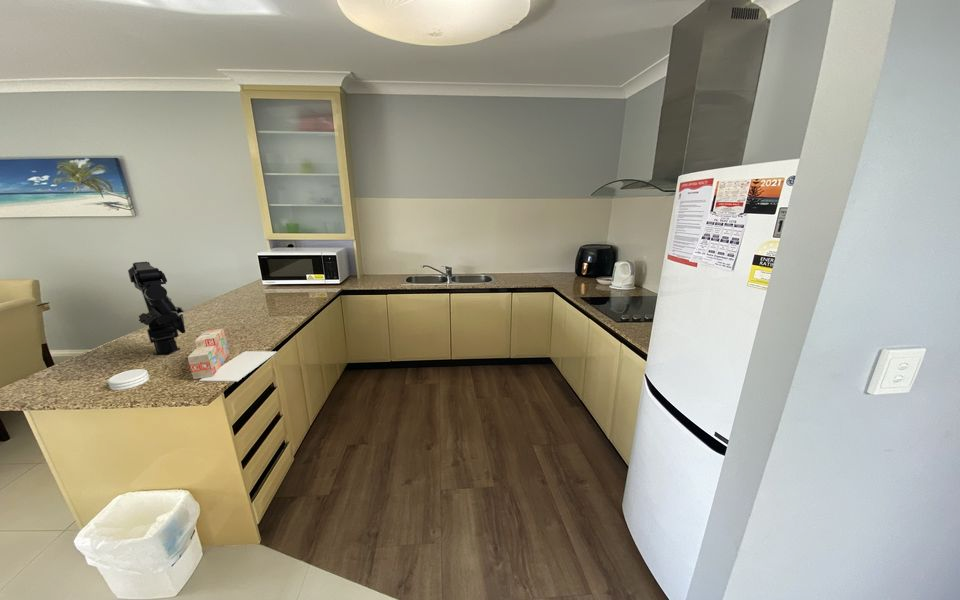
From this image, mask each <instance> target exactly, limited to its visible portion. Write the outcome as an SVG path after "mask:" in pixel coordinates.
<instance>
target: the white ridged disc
mask: <svg viewBox="0 0 960 600" xmlns="http://www.w3.org/2000/svg"><path fill="white" fill-rule="evenodd" d="M149 380H150V375H149V372H148V370H146V369H144V368H143V369H142V368H136V369H129V370H126V371H123V372H119V373H117V374H114V375H112V376H111V377H110V378H108V380H107V384H108V386H109V389H110V390H112V391H123V390H130V389H133V388H136V387H139V386H141V385H144V384H145V383H148V381H149Z"/></svg>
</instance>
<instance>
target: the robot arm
mask: <svg viewBox="0 0 960 600" xmlns="http://www.w3.org/2000/svg"><path fill="white" fill-rule="evenodd" d="M127 271H128V273H127V274H128V276H129V280H130V283H131V284H132V283H133V286H134V288H135V289H137V290H139V291H140V292H141V295H142V296H143V300H144V302H145V305H146V308H147V313H144V312H143V313H140V315H138V321H139V322H140V324H144V325H145V326H148V329H147V330H146V332H147V335H148V338H149V339H148V340H149V342H150V343H151V344H154V349H155V352H154V353H152V354H153V355H154V356H155V355H156V356H158V355H161V356H162V355H165V356H166V355H167V356H168V355H170V354H173V353H175V352H176V351H180V349H181V347H178V345H177V342H176V340H175V339H177V338H178V337H179V333H178V332H180V334H185V333H186V327H185V320H184V319H185V318H184V314H183V313H184V312H185V310H184V309H183V308H182V307H180V306H175V304H174V303H173V302H172V298H170V297H169V296H168V290H167V288H166V287H164V286H162V285H167V282H168V279H167V277H166V275H165V272H163V271H162V270H160V269H159V268H158V267H154V266H152V265H151V264H150V262H149V261H139V262H138V261H137V262H133V263H132V266H131V267H130V268H129V269H128V270H127ZM180 313H181V314H180Z"/></svg>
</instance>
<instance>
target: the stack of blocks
mask: <svg viewBox="0 0 960 600" xmlns="http://www.w3.org/2000/svg"><path fill="white" fill-rule="evenodd" d="M194 342H195V343H194V344H195V346H196V348H195V349H194V350H193V351H192V352H191V353H190V354H189V355H188V356H187V360H188V364H189V368H190V372H191V374H192V375H191V376H192V379H193V380H198V379H202V378H204V377H210V376H213V375H214V374H215V373H216V372H217V370H218V369H219V368H220V367H221V366H222V365H224V362H225V361H226V360H227V359H228V357H230V355H231V352H230V349H229V346H228V341H227V336H226V333H225V329H224V328H218V329H210V330H209V329H207V330H205V331H204V332H202V333H201V334H200V335H199V336H198V337H197V338H196V339H195V340H194Z"/></svg>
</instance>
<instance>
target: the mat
mask: <svg viewBox="0 0 960 600" xmlns="http://www.w3.org/2000/svg"><path fill="white" fill-rule="evenodd" d="M275 354H277V351H264V350H263V351H255V350H253V351H251V350H249V351H247V350H246V351H243V352H241V353H240V354H238V355H237V356H235V357H233V358H232V359H231V360H229V361H227V362H226V363H223V364H222V365H221V367H220V368H219V369H218V370H217V372H216V373H215V374H214V375H213V376H210V377H203V378H199V380H198V381H199V382H223V383H224V382H228V383H229V382H230V383H231V382H233V383H235V382H236V383H238V382H239V381H240V380H242V378H245V377H246V376H247V375H248V374H250V373H251V372H252V371H254V370H255V369H256V368H258V367H260V365H262V364H263V363H264V362H266V361H267V360H269V359H270V358H271V357H272V356H274V355H275Z"/></svg>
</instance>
